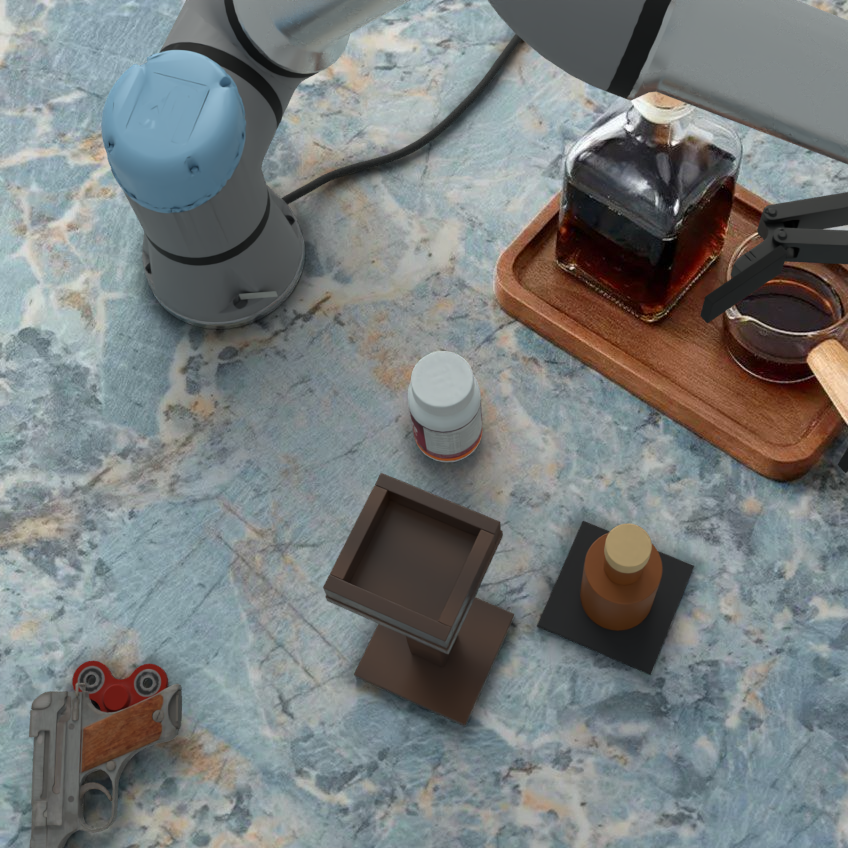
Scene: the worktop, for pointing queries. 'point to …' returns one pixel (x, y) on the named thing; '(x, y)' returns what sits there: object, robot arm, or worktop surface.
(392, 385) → the worktop surface
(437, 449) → the pill bottle
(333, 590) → the holder
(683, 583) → the mat
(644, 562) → the bottle
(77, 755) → the pistol
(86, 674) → the fidget spinner
